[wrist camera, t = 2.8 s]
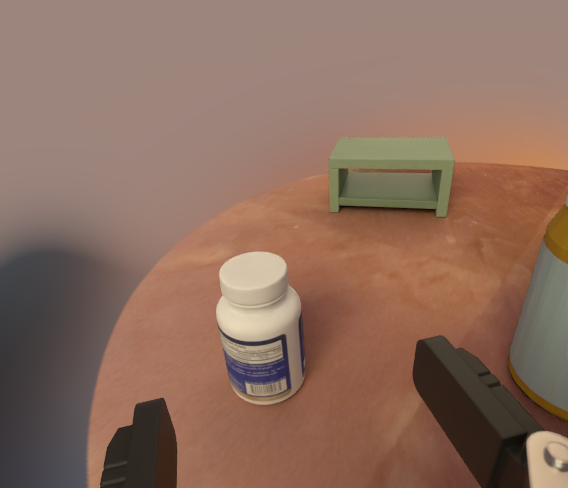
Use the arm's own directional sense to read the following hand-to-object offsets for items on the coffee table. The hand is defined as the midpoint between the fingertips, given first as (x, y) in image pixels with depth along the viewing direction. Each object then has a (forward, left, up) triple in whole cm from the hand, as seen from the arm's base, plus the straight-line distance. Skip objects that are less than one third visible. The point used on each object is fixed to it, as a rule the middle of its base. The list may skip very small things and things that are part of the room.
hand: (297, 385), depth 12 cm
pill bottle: (+5, -9, -11) cm, 16 cm away
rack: (-2, -41, -11) cm, 43 cm away
